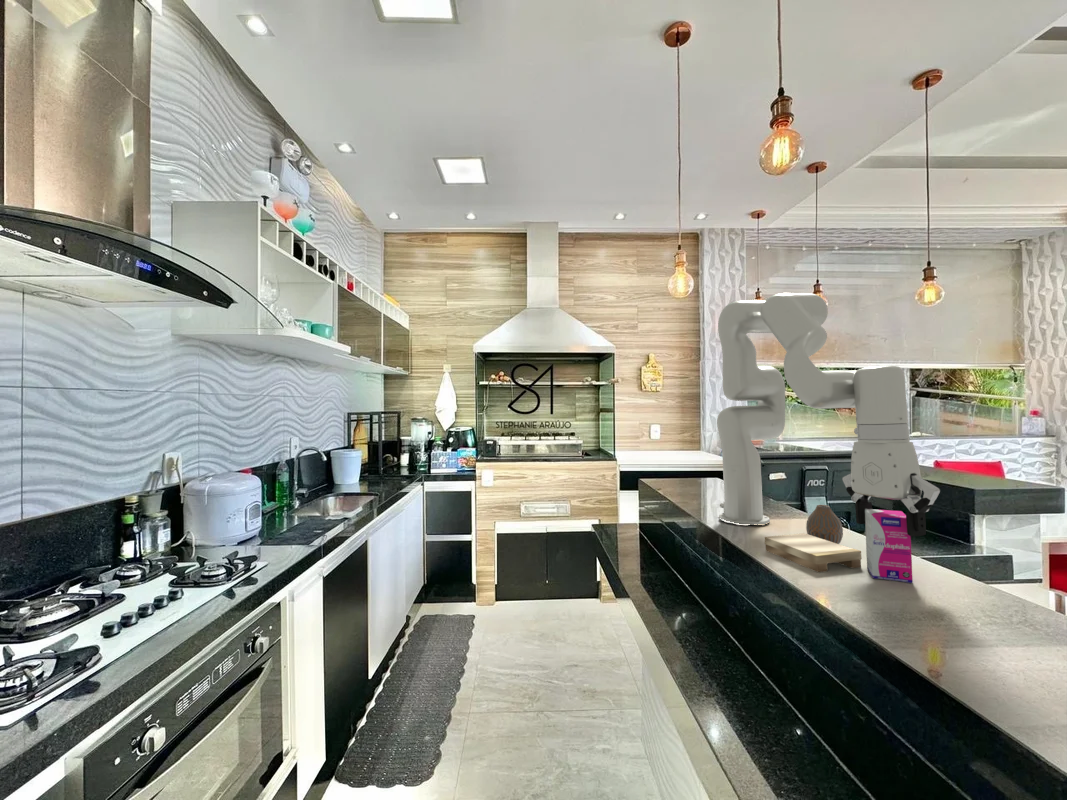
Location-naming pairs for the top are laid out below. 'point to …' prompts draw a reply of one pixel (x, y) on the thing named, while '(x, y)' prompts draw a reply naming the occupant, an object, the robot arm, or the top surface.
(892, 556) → the supplement box
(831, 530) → the vase
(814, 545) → the platform
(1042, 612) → the top surface
